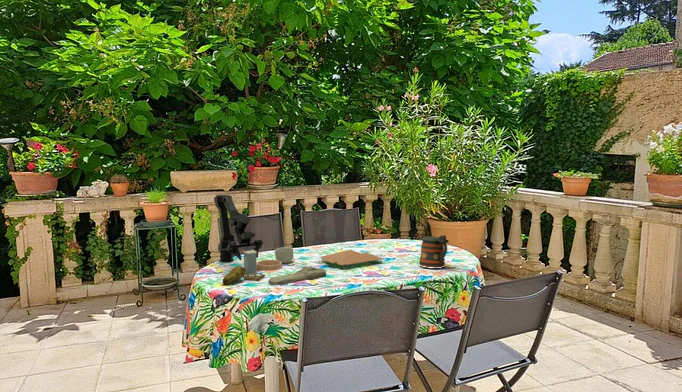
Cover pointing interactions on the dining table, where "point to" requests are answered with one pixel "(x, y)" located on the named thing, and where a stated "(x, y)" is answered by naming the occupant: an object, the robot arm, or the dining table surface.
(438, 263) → the beer stein
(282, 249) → the teacup
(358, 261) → the brown flat block
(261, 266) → the tan polygonal ring
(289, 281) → the long grey stone
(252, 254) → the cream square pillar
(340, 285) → the dining table surface
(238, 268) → the potato
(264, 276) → the parts tray
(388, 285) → the dining table surface
